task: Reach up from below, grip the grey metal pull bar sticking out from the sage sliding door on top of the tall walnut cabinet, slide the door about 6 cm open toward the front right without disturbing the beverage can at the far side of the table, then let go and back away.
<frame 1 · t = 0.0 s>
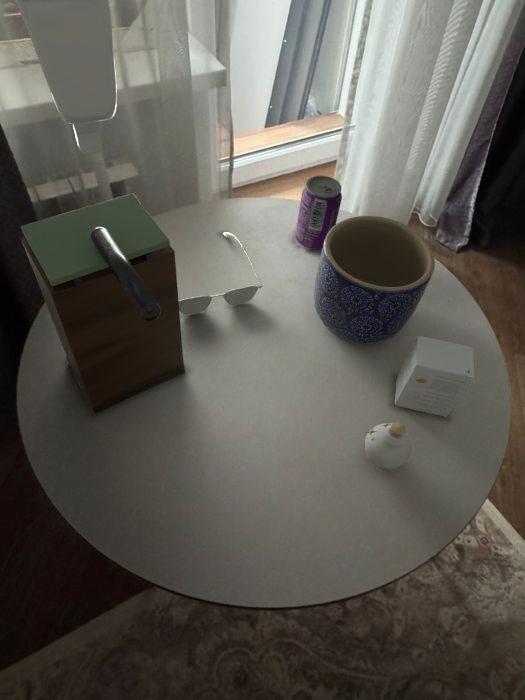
hand: (79, 119, 43), 40 cm above the table, tool pointing down, fingers open, 8 cm apart
small box: (420, 397, 77), on the table
eyeglasses: (203, 273, 89), on the table
beverage can: (312, 240, 97), on the table
door: (101, 240, 54), point 26 cm above the table, slide at 0.0 cm
cabinet: (127, 367, 76), on the table
ornament: (376, 457, 70), on the table
planter: (356, 317, 86), on the table
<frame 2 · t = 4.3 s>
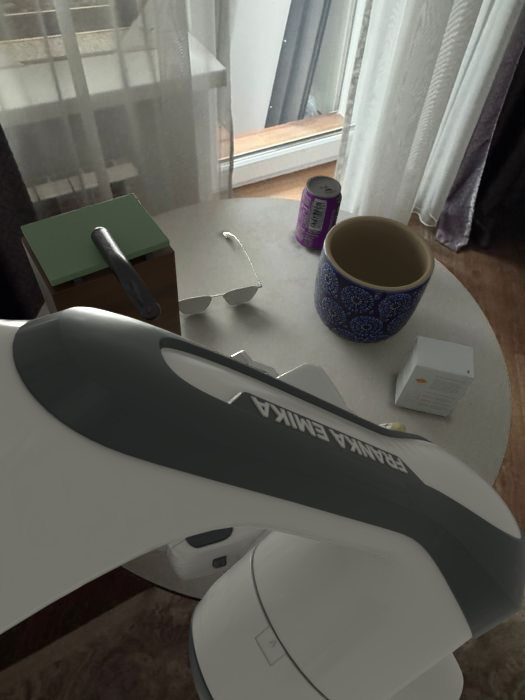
hand: (191, 377, 45), 25 cm above the table, tool horizontal, fingers open, 8 cm apart
nothing on the table moved.
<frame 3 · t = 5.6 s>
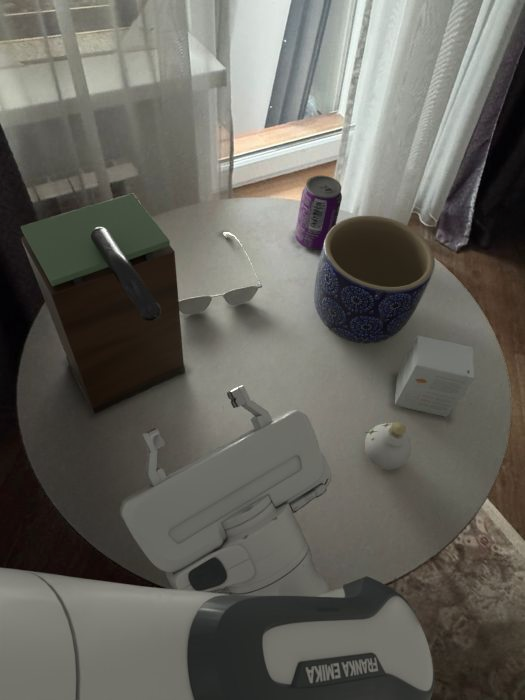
hand: (193, 409, 49), 20 cm above the table, tool pointing upward, fingers open, 8 cm apart
nothing on the table moved.
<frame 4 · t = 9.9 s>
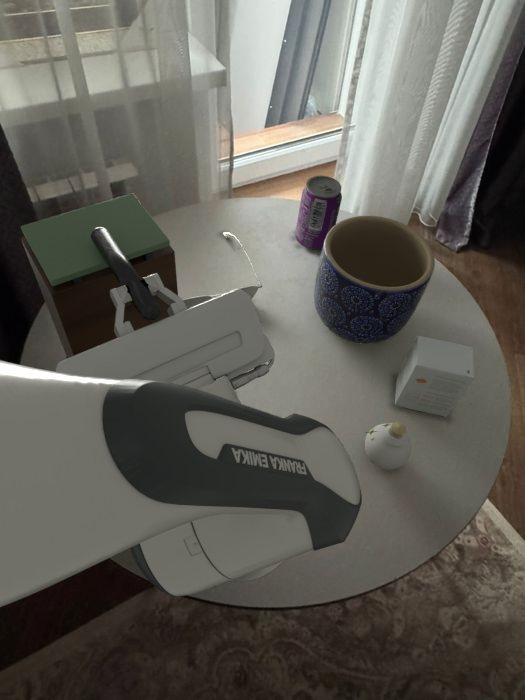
hand: (132, 282, 49), 27 cm above the table, tool pointing upward, fingers closed on door, 2 cm apart
door: (101, 240, 54), point 26 cm above the table, slide at 0.0 cm, touching gripper
everything else where it was.
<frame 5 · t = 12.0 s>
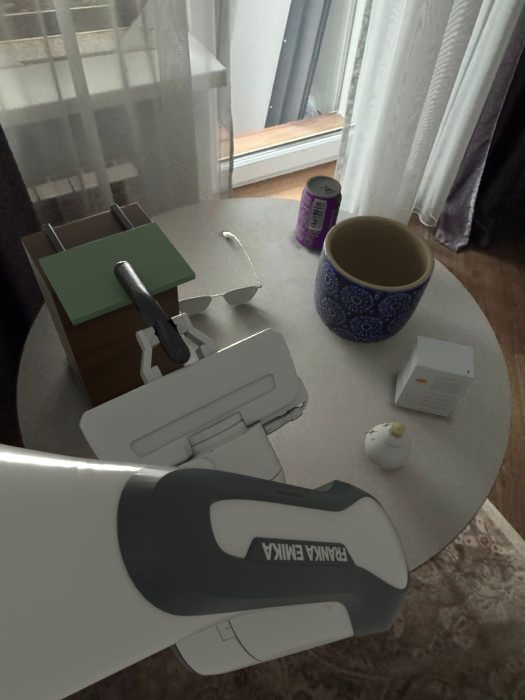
hand: (159, 323, 46), 27 cm above the table, tool pointing upward, fingers closed on door, 2 cm apart
door: (124, 274, 51), point 26 cm above the table, slide at 5.9 cm, touching gripper
everything else where it was.
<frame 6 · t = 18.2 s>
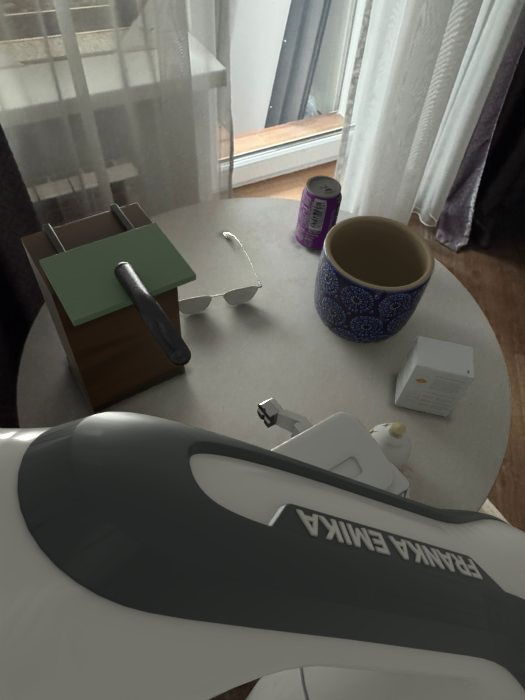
hand: (218, 427, 42), 25 cm above the table, tool horizontal, fingers open, 8 cm apart
door: (125, 275, 51), point 26 cm above the table, slide at 6.1 cm
everything else where it was.
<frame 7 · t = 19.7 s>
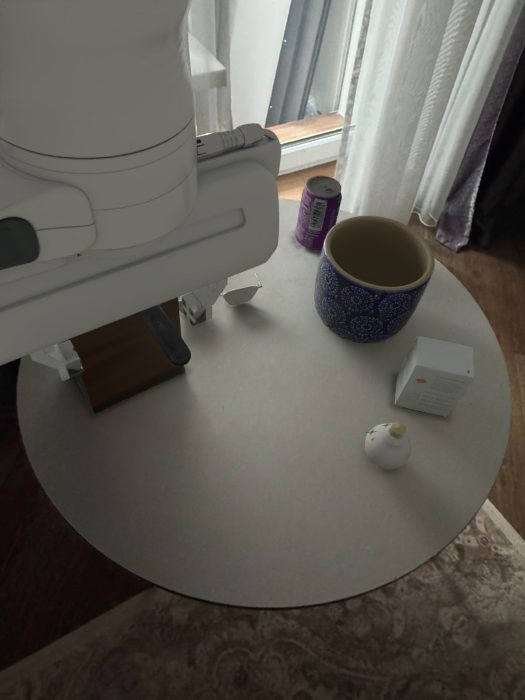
hand: (136, 342, 35), 35 cm above the table, tool pointing down, fingers open, 8 cm apart
nothing on the table moved.
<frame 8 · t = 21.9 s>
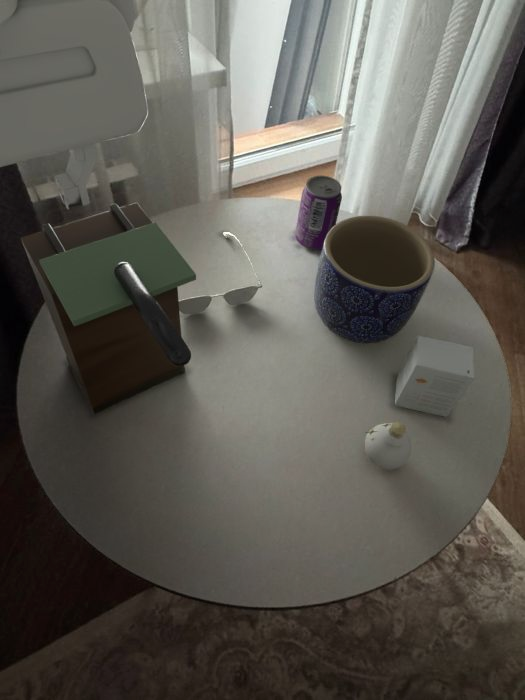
hand: (3, 223, 32), 41 cm above the table, tool pointing down, fingers open, 8 cm apart
nothing on the table moved.
at the end: door slide at 6.1 cm; the gripper is holding nothing; beverage can moved 0.2 cm from its start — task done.
